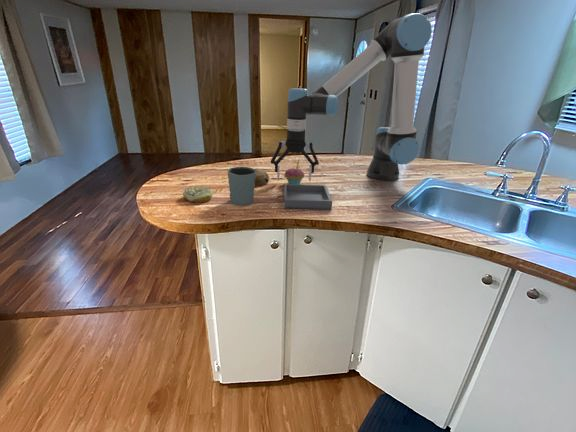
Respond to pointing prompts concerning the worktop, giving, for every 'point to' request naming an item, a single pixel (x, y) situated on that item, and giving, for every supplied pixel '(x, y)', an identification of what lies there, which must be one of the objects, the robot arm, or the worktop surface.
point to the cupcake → (294, 175)
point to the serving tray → (307, 197)
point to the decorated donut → (197, 194)
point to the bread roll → (261, 177)
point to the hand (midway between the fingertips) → (293, 179)
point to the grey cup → (241, 185)
